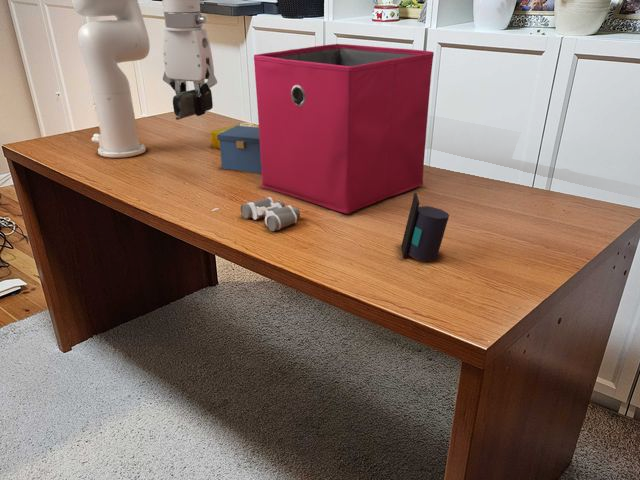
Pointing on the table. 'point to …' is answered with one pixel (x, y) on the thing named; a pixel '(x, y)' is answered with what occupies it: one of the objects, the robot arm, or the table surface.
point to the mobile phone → (189, 103)
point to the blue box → (241, 149)
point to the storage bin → (343, 122)
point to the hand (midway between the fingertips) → (193, 113)
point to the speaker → (424, 231)
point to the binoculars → (271, 213)
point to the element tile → (215, 132)
